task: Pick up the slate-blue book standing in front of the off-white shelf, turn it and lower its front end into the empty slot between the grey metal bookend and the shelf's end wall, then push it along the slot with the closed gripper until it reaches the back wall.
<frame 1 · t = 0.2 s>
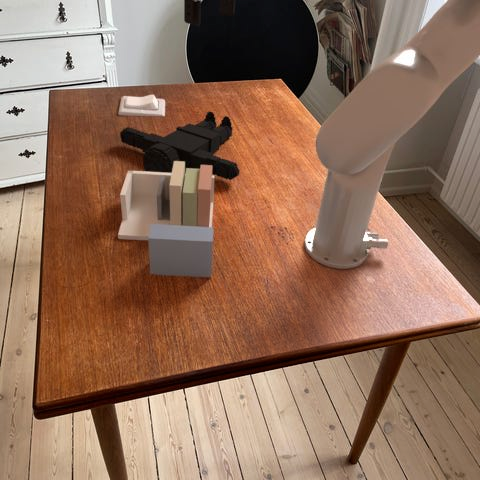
hand: (210, 18, 89), 37 cm above the table, tool pointing down, fingers open, 9 cm apart
toy: (188, 157, 124), on the table
light switch: (142, 110, 143), on the table
book: (181, 268, 92), on the table
shelf: (168, 219, 103), on the table
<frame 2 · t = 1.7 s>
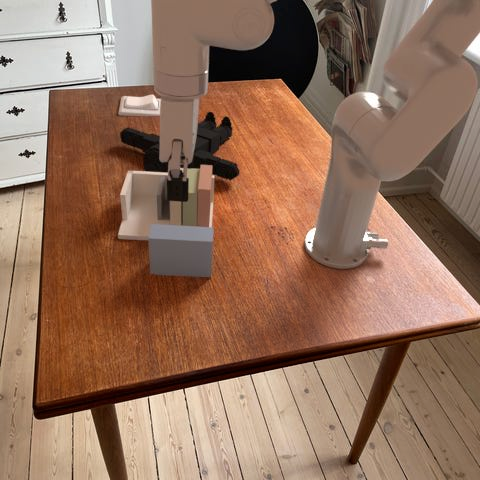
hand: (180, 183, 80), 18 cm above the table, tool pointing down, fingers open, 9 cm apart
nothing on the table moved.
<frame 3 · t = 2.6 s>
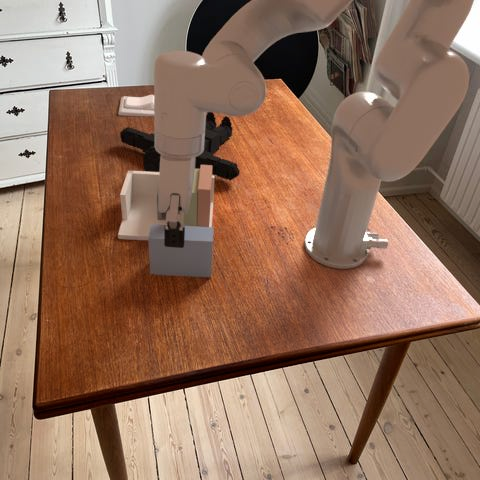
hand: (177, 228, 86), 10 cm above the table, tool pointing down, fingers open, 9 cm apart
nothing on the table moved.
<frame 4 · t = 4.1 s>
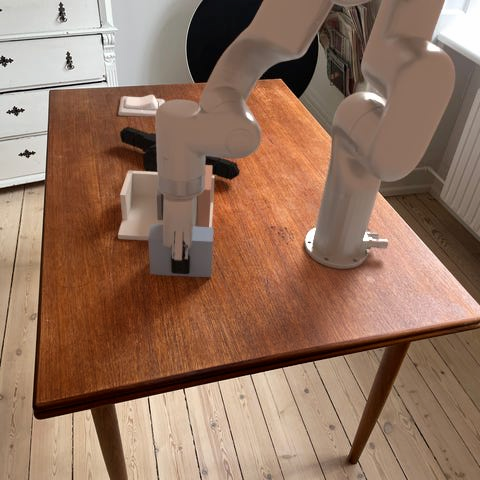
hand: (181, 262, 91), 1 cm above the table, tool pointing down, fingers closed on book, 4 cm apart
book: (181, 268, 92), on the table, touching gripper
everything else where it was.
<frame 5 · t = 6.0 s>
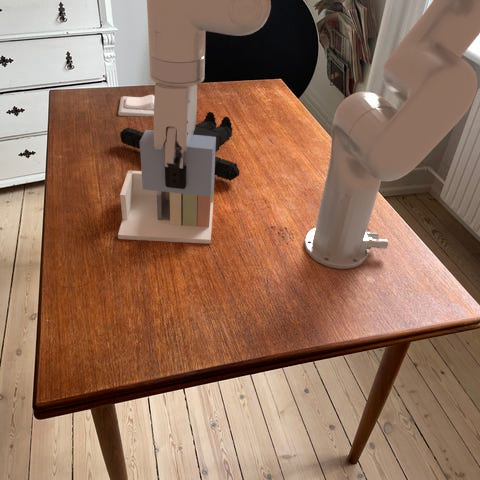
hand: (178, 178, 80), 19 cm above the table, tool pointing down, fingers closed on book, 4 cm apart
book: (179, 186, 81), point 18 cm above the table, touching gripper
everything else where it was.
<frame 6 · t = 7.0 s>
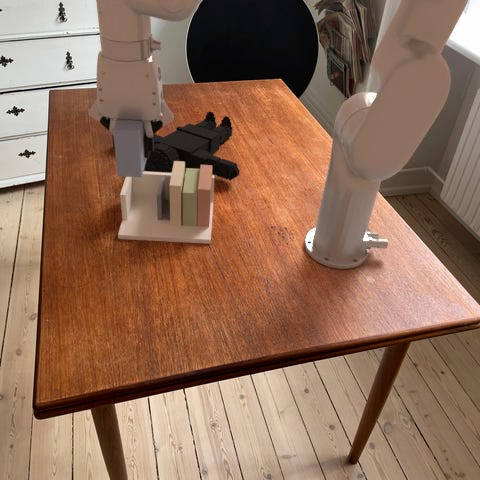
hand: (134, 152, 87), 19 cm above the table, tool pointing down, fingers closed on book, 4 cm apart
book: (134, 160, 87), point 17 cm above the table, touching gripper
everything else where it was.
when the fingers open (3 cm above the table, at t = 10.0 s): book stays where it is, point 1 cm above the table.
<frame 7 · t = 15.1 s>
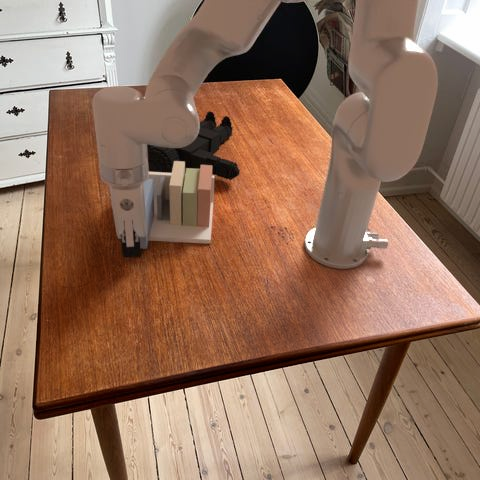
hand: (131, 254, 90), 2 cm above the table, tool pointing down, fingers closed
book: (140, 230, 98), point 1 cm above the table, touching gripper
everything else where it was.
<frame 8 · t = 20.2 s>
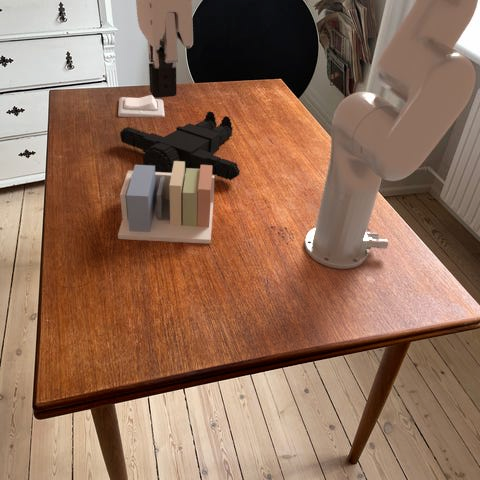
hand: (163, 94, 66), 35 cm above the table, tool pointing down, fingers closed
book: (143, 215, 102), point 1 cm above the table, touching shelf
everything else where it was.
at the end: book 0.1 cm from the target spot on the shelf, point 1.0 cm above the shelf's base; book tilted 0°; the gripper is holding nothing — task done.
